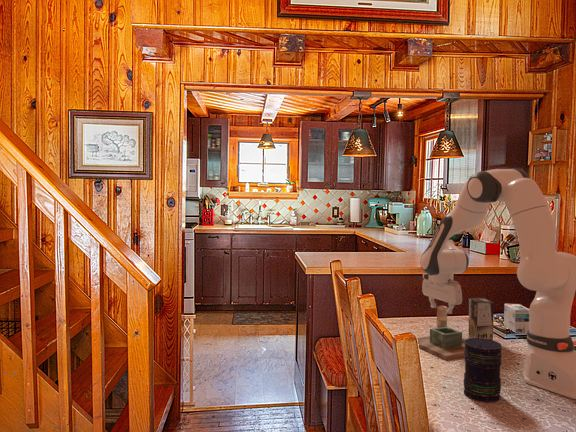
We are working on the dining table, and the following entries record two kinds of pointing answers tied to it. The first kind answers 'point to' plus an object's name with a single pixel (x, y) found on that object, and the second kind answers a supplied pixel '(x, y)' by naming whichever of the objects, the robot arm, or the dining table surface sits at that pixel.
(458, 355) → the holder
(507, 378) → the dining table surface
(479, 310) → the coffee box
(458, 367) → the dining table surface
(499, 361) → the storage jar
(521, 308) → the light bulb box
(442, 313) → the peg
